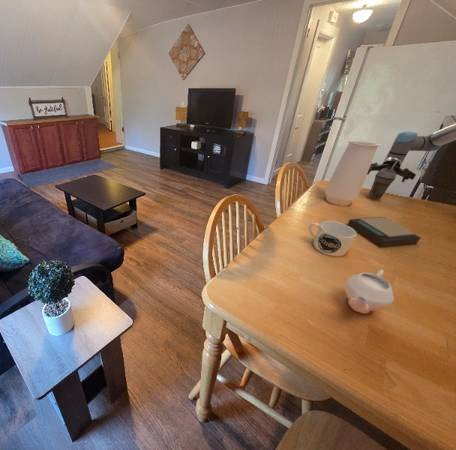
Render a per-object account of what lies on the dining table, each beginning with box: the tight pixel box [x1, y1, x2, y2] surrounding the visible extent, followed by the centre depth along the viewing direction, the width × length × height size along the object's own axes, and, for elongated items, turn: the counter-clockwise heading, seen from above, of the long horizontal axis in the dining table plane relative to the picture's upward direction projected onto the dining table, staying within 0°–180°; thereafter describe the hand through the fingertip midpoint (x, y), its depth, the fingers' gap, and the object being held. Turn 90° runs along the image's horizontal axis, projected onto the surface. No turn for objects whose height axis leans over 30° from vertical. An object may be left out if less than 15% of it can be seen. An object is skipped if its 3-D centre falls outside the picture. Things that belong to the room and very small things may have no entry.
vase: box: [324, 138, 382, 207], centre depth 111 cm, size 13×13×28 cm
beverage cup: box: [367, 159, 398, 202], centre depth 115 cm, size 7×7×20 cm
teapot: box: [344, 268, 395, 314], centre depth 63 cm, size 10×20×9 cm, turn 129°
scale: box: [346, 216, 421, 249], centre depth 93 cm, size 15×15×4 cm
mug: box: [308, 220, 358, 257], centre depth 85 cm, size 13×10×8 cm
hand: (385, 175), depth 118 cm, fingers open, 13 cm apart
